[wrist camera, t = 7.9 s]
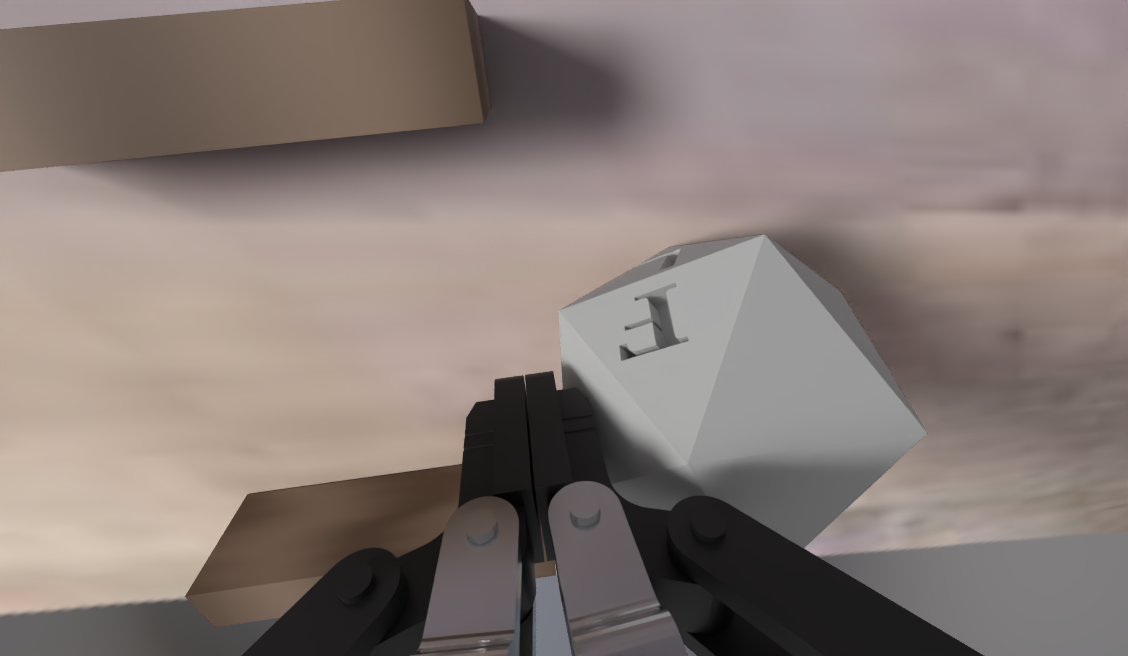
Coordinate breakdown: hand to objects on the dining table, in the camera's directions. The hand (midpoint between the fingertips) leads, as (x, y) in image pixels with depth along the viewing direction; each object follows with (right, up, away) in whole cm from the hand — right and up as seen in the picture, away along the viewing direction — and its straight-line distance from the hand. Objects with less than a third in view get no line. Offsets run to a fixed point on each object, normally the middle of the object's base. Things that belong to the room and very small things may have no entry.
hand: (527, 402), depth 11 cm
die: (+4, +2, +4) cm, 6 cm away
